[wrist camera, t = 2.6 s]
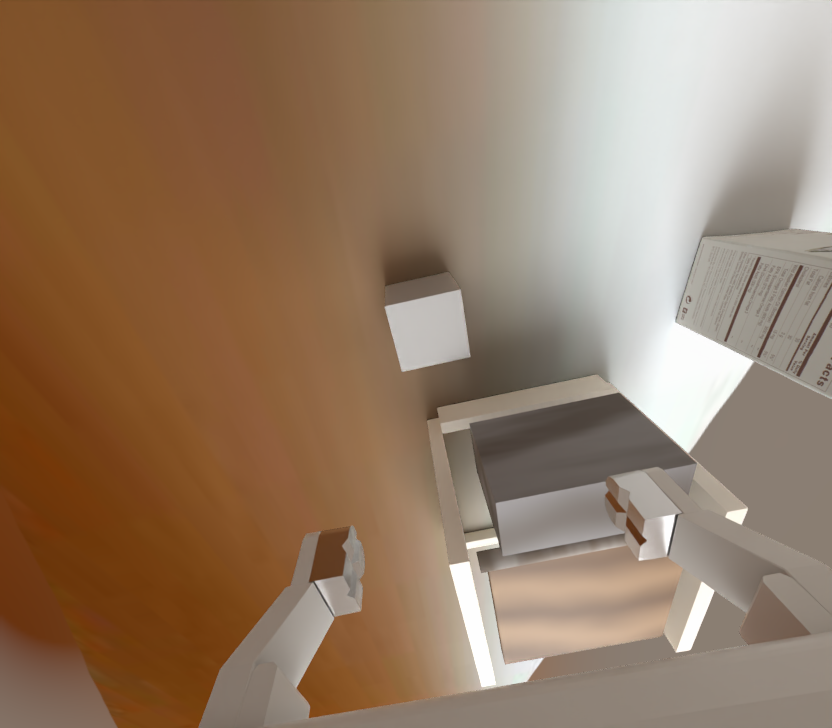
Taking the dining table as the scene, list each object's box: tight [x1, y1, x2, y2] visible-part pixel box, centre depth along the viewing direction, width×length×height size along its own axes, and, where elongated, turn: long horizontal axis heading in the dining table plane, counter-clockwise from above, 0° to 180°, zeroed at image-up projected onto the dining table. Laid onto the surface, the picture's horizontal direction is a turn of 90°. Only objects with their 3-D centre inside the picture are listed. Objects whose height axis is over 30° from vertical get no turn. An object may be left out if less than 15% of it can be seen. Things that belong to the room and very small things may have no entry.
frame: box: [427, 374, 748, 687], centre depth 30 cm, size 20×18×14 cm
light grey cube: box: [385, 272, 470, 372], centre depth 25 cm, size 5×5×5 cm
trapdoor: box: [469, 393, 697, 664], centre depth 26 cm, size 20×14×7 cm
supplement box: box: [676, 229, 832, 399], centre depth 22 cm, size 7×7×13 cm
